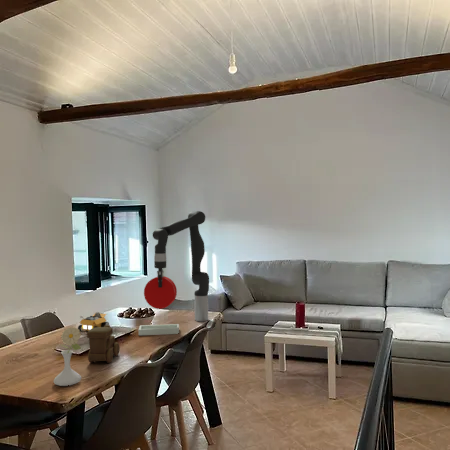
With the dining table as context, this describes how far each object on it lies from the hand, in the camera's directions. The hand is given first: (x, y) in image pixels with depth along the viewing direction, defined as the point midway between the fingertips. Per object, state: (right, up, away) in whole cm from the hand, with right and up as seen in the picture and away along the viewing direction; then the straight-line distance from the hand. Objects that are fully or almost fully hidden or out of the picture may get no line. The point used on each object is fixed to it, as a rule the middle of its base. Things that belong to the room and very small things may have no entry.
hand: (160, 286), depth 282 cm
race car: (-43, -28, 0) cm, 51 cm away
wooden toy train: (-20, -29, -59) cm, 68 cm away
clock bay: (0, -27, -8) cm, 29 cm away
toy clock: (0, -14, 0) cm, 14 cm away
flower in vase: (-26, -30, -91) cm, 99 cm away
